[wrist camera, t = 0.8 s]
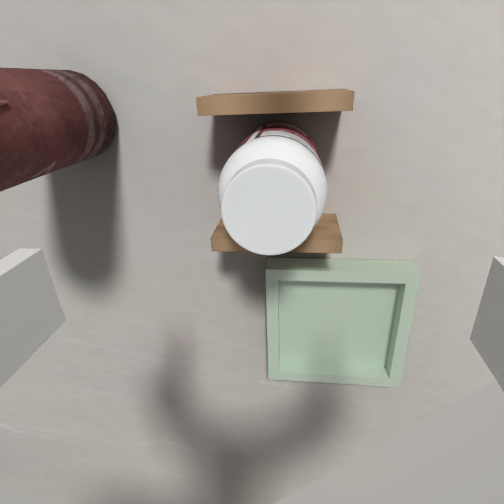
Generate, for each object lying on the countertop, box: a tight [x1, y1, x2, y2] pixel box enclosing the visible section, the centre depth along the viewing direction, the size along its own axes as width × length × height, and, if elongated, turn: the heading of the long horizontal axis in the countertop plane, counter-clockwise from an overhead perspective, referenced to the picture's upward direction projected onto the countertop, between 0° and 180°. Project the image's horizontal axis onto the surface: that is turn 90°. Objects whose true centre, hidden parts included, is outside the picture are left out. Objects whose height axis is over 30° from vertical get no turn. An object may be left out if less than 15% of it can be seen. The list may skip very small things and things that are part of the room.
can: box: [0, 68, 115, 191], centre depth 21 cm, size 6×6×14 cm
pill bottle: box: [218, 122, 327, 255], centre depth 22 cm, size 6×6×11 cm
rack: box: [196, 89, 354, 253], centre depth 24 cm, size 9×10×5 cm
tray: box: [265, 258, 421, 387], centre depth 31 cm, size 12×12×2 cm
